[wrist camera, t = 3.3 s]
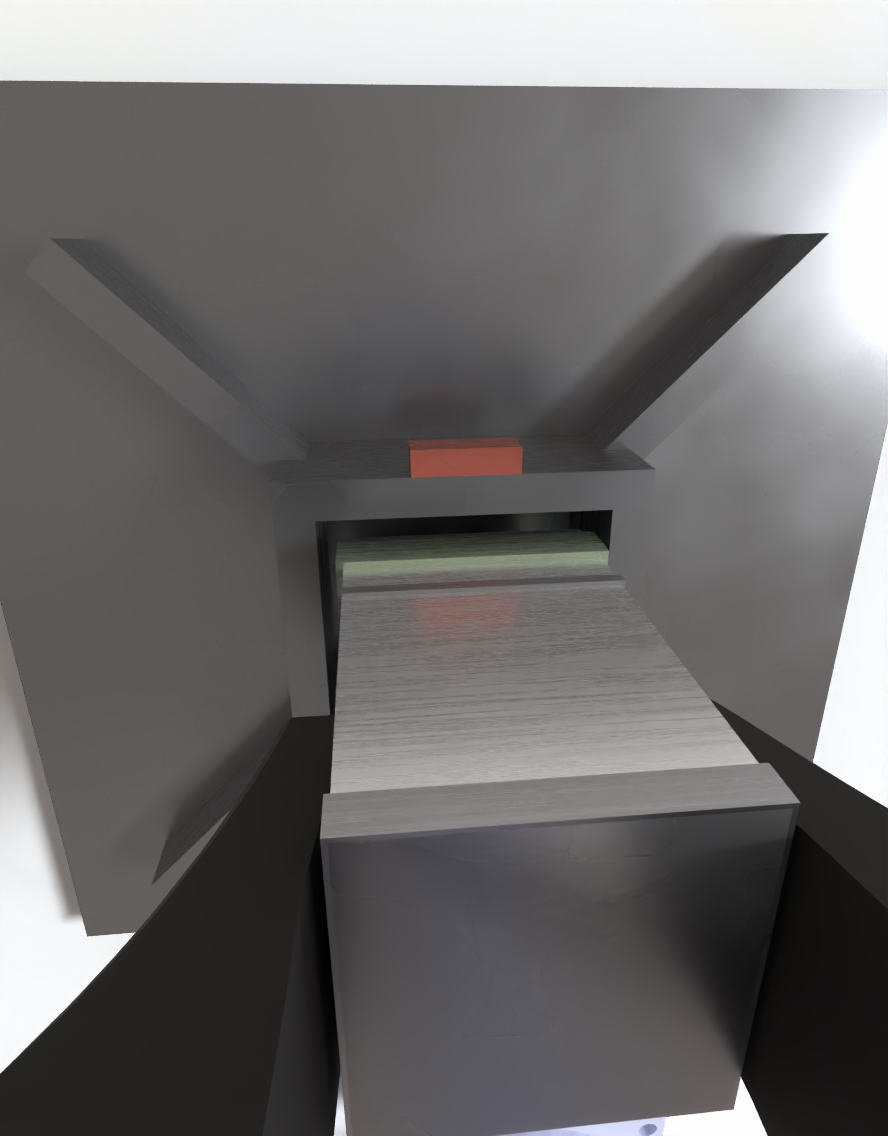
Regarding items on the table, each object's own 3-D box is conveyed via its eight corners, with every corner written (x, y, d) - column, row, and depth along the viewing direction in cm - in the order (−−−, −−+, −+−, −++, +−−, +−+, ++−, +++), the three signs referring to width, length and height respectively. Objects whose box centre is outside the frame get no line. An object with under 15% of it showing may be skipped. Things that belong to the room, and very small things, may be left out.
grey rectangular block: (571, 729, 13) (736, 1112, 7) (351, 742, 13) (342, 1154, 7) (585, 522, 12) (807, 796, 6) (338, 532, 11) (312, 834, 6)
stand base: (774, 858, 19) (846, 965, 16) (96, 914, 17) (45, 1041, 14) (933, 97, 12) (1097, 55, 10) (-109, 88, 11) (-267, 35, 8)
